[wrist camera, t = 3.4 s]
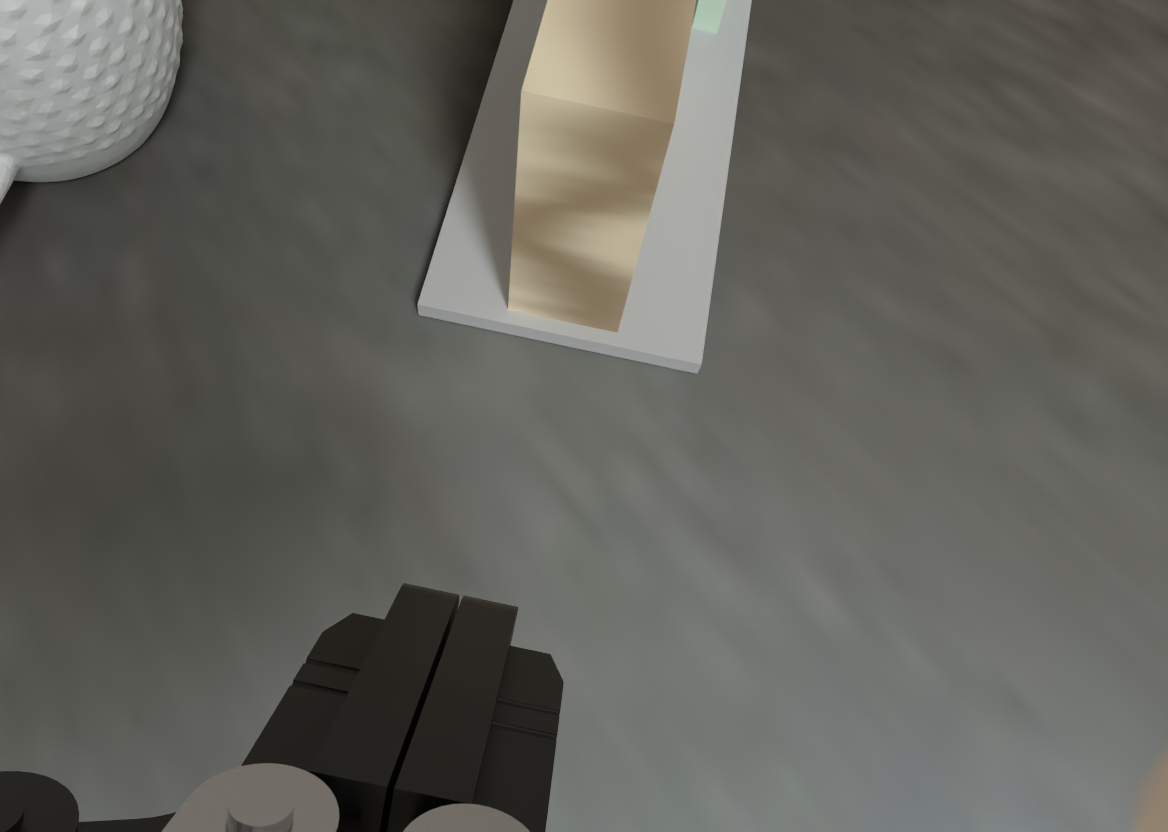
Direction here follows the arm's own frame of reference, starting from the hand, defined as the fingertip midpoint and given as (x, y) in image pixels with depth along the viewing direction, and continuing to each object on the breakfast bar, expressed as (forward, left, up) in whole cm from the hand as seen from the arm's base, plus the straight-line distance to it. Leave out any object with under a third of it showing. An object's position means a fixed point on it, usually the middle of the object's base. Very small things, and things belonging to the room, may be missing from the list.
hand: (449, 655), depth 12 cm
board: (0, +23, -13) cm, 27 cm away
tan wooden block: (0, +19, -12) cm, 23 cm away
